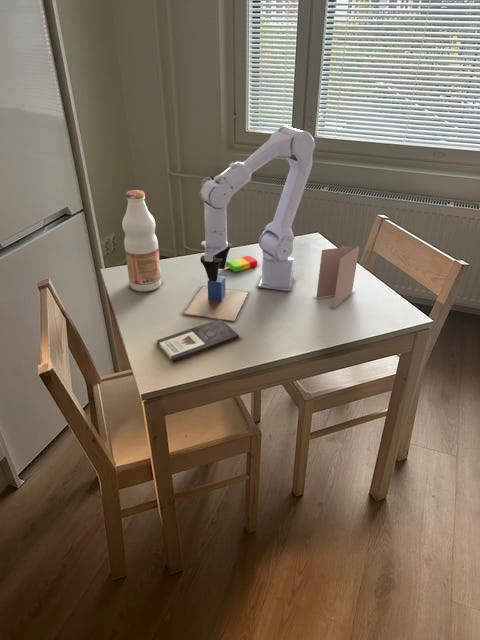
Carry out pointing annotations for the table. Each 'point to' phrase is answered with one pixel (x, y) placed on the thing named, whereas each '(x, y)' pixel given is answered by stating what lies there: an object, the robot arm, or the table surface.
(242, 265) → the popsicle
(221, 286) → the blue block
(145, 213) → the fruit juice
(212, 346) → the chocolate bar
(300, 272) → the table surface
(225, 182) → the robot arm
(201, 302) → the cork mat
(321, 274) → the greeting card
